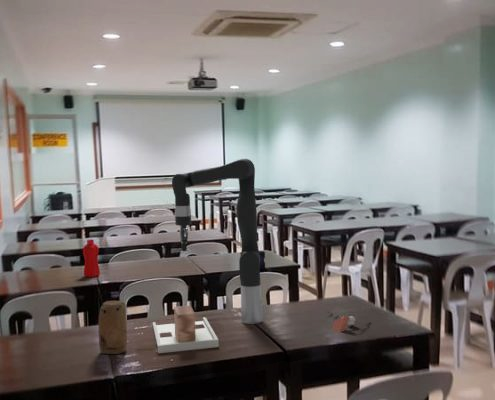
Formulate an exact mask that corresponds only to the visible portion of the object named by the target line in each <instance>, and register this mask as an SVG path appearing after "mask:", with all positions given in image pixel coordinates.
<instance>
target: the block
mask: <svg viewBox="0 0 495 400" xmlns="http://www.w3.org/2000/svg"><path fill="white" fill-rule="evenodd" d="M127 330H128V326H127V309H126V303H125V301H124V300H113V299H112V300H106V301H105V302H103V303H102V305H101V306H100V308H99V314H98V347H99V352H100V354H103V355H105V354H108V355H113V354H114V355H116V354H117V355H118V354H122V353H125V352H126V350H127V346H128V331H127Z"/></svg>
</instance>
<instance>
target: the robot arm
mask: <svg viewBox="0 0 495 400" xmlns="http://www.w3.org/2000/svg"><path fill="white" fill-rule="evenodd" d="M255 176H256V168H255V164H254V163H253V161H252V160H251V159H248V158H240V159H236V160H234V161H232V162H229V163H226V164H223V165H221V166H216V167H215V166H214V167H207V168H201V169H196V170H193V171H191V172H186V173H185V172H184V173H183V172H182V173H181V172H180V173H176V174H174V175H173V177H172V180H171V186H172V190H173V195H174V203H175V206H174V207H175V208H174V214H175V215H174V217H175V218H174V220H175V223H174V224H175V225H176V226H179V227H180V228H179V229H178V232H179V238H180V243H181V251H182V252H187V251H188V249H187V247H188V246H187V244H188V238H189V229H188V227H187V226H190V225H192V209H191V198H190V194H189V193H187V188H191V187H194V186H200V185H201V186H202V185H206V184H210V183H211V184H212V183H214V182H218V181H221V180H229V179H230V180H238V185H239V189H238V190H239V192H238V196H237V202H236V219H237V226H238V230H239V234H240V239H241V252H242V253H241V252H240V256H239V260H238V261H239V265H238V267H239V280H240V306H241V307H240V308H241V309H240V310H241V311H240V312H241V316H240V317H241V323H242V324H247V325H253V324H259V323H263V320H264V319H263V301H262V296H261V295H262V294H261V293H262V291H261V273H260V272H261V270H260V254H259V251H260V249H259V245H258V244H259V243H258V213H257V212H258V211H257V203H256V200H257V199H256V191H255Z"/></svg>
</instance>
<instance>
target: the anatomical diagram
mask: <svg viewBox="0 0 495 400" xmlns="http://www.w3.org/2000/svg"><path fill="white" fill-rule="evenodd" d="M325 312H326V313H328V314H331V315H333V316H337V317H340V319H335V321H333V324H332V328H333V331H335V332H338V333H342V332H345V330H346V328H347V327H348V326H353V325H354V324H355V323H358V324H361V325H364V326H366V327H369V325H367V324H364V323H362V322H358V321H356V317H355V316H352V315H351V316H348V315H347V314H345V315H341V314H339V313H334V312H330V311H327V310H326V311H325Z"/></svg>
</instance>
